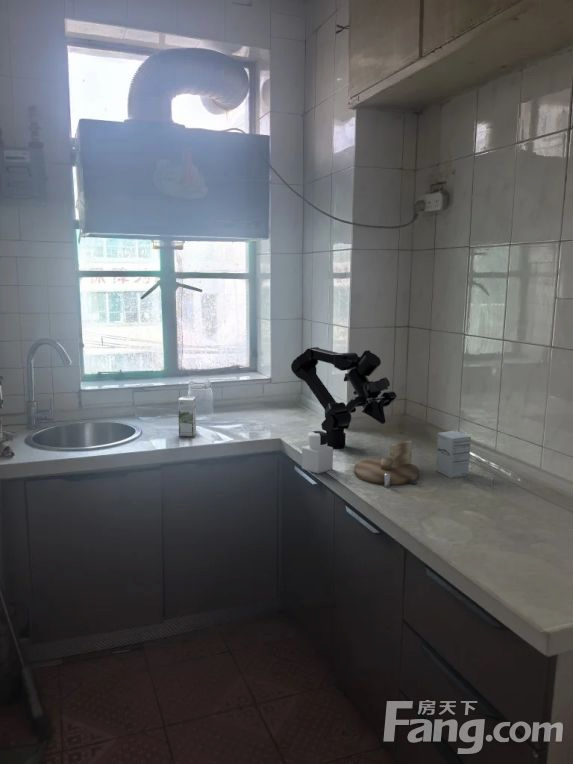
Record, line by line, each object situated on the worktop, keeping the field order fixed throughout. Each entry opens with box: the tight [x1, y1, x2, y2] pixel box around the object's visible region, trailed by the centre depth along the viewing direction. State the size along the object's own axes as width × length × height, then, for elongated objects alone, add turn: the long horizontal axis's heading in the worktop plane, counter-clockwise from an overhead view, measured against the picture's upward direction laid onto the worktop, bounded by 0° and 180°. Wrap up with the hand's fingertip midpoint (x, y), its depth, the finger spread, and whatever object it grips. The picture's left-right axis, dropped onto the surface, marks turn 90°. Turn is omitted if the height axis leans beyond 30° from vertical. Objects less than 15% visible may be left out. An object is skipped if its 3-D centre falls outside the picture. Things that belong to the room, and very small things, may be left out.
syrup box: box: [177, 396, 197, 438], centre depth 229 cm, size 6×6×14 cm
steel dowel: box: [383, 473, 391, 489], centre depth 177 cm, size 2×2×4 cm
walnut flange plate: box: [353, 440, 421, 486], centre depth 187 cm, size 20×22×9 cm
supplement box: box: [435, 430, 472, 479], centre depth 189 cm, size 7×7×13 cm
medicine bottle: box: [301, 430, 334, 475], centre depth 192 cm, size 7×7×12 cm
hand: (384, 423), depth 197 cm, fingers closed
